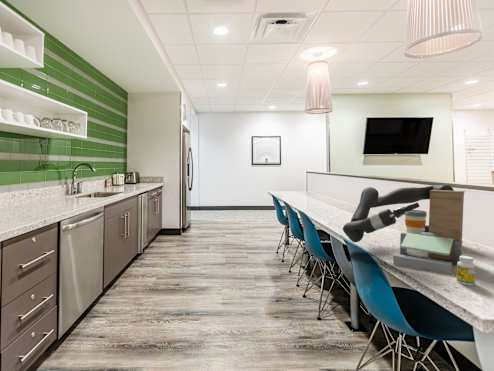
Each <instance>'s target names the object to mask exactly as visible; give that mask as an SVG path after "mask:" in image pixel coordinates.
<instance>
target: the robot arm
mask: <svg viewBox="0 0 494 371" xmlns="http://www.w3.org/2000/svg"><path fill="white" fill-rule="evenodd" d="M430 190H449V191H455V190H454V188H453V187H452V186H451V185H447V184H446V185H445V184H435V185H430V186H425V187H423V186H422V187H399V188H395V189H394V190H392V191H389V192H388V193H386V194H384V195H381V196H379V195H380V194H379V191H378V190H377V189H376V188H374V187H372V186H371V187H369V186H368V187H365V188H364V189H363V190H362V191H361V195H360V198H359V203H358V205H357V208H356V210H355V211H354V213H353V215H352V217H351V219H350V221H349V222H347V223H345V224H344V225H343V227H342V231H343V233H344V234H345V235H346V237H348V238H349V240H350V241H352V242H353V243H359V242H360V241H361V240H363V238H364V236H365V233H366V234H370V233H371V234H372V233H373V232H376V231H378V230H382V229H384V228H388V227H389V226H392V225H394V224H396V223H397V219H398V218H402V217H403V216H405V214H407V213H408V212H409V211H411V210H417V209H418V208H420V204H419V201H423V200H430V192H429V191H430ZM401 204H403V205H404V204H409V205H406V206H402V207H398V208H396V209H393V210H392V211H391V209H389V208H385V209H383V210H381V211H378V212H377V213H374V214H373V215H371V216H369V214H370V210H371V209H372V208H374V209H375V208H379V207H384V206H389V205H390V206H391V205H401ZM396 218H397V219H396Z"/></svg>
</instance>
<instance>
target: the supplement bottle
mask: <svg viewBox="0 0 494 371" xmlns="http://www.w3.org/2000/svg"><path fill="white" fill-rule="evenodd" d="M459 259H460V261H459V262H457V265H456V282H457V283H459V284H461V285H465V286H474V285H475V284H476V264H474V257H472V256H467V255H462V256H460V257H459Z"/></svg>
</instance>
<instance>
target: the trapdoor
mask: <svg viewBox="0 0 494 371" xmlns="http://www.w3.org/2000/svg"><path fill="white" fill-rule="evenodd" d="M406 233H407V232H406ZM452 244H453V239H451V238H443V237H439V234H437V233H429V232H421V234H413V233H407V235H406V236H405V238H404V240H403V242H402V244H401V248H406V249H407V250H413V251H419V252H424V253H428V252H430V253H436V254H442V255H447V256H449V254H450V251H451V247H452Z"/></svg>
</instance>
